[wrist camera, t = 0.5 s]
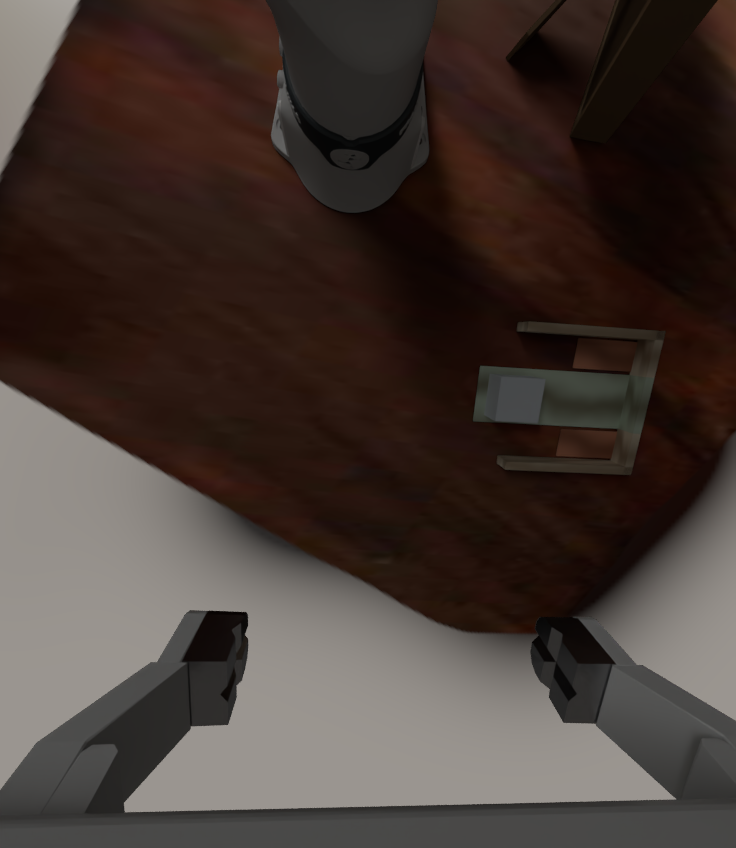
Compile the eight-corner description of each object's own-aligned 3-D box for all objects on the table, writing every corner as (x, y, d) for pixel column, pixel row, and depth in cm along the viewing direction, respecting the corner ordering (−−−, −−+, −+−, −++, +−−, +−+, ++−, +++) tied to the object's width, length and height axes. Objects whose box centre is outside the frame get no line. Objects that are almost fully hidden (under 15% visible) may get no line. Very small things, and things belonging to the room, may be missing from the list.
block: (489, 373, 51) (501, 376, 47) (530, 376, 52) (545, 379, 48) (483, 415, 53) (495, 421, 49) (523, 417, 53) (537, 423, 49)
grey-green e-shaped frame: (486, 320, 50) (494, 318, 47) (647, 331, 51) (665, 331, 48) (467, 461, 54) (474, 468, 51) (616, 467, 56) (630, 475, 53)
